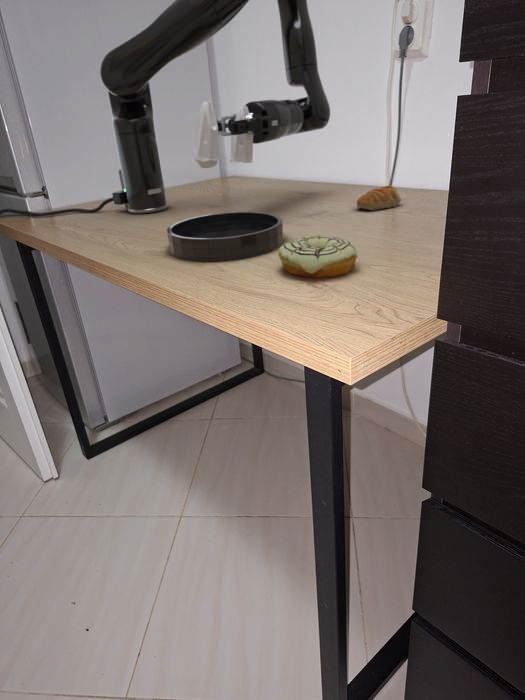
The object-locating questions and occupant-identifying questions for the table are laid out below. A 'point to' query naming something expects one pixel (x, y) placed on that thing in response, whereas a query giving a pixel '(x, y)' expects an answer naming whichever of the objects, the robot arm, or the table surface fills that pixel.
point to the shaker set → (209, 138)
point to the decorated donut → (318, 256)
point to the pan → (225, 236)
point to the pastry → (379, 198)
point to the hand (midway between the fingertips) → (215, 129)
